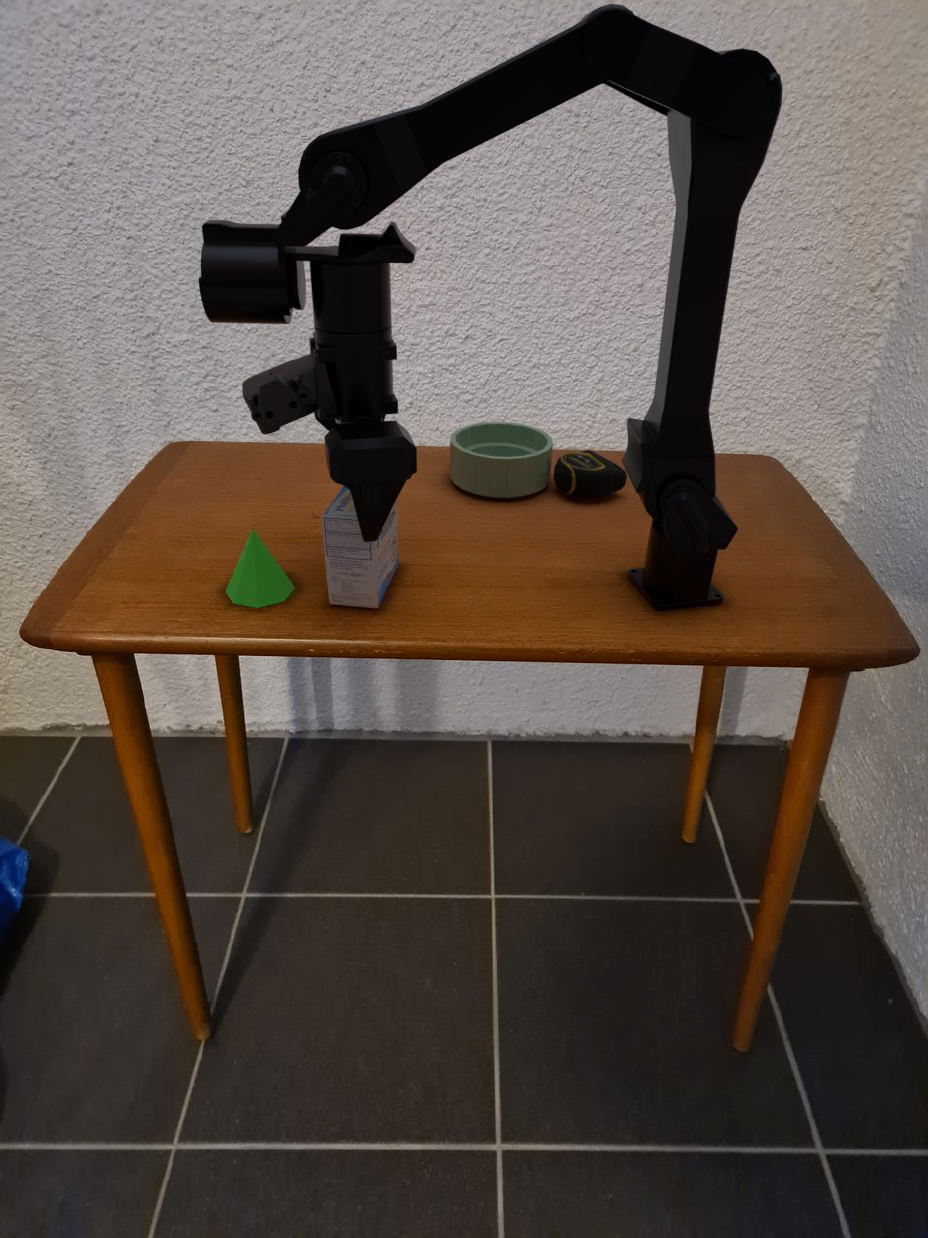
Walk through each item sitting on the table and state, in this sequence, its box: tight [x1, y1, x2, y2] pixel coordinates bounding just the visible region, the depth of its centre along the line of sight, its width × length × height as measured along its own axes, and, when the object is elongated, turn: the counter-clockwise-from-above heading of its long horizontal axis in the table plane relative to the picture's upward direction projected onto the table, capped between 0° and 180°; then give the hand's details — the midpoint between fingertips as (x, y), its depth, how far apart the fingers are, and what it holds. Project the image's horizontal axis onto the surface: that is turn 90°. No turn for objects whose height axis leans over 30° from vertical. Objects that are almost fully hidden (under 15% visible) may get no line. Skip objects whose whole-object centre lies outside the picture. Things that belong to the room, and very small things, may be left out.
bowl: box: [449, 421, 554, 499], centre depth 92 cm, size 11×11×5 cm
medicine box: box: [321, 485, 399, 610], centre depth 71 cm, size 8×4×9 cm, turn 171°
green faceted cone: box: [225, 528, 296, 609], centre depth 71 cm, size 6×6×6 cm
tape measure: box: [553, 449, 628, 499], centre depth 90 cm, size 7×7×4 cm
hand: (362, 515), depth 70 cm, fingers open, 9 cm apart
